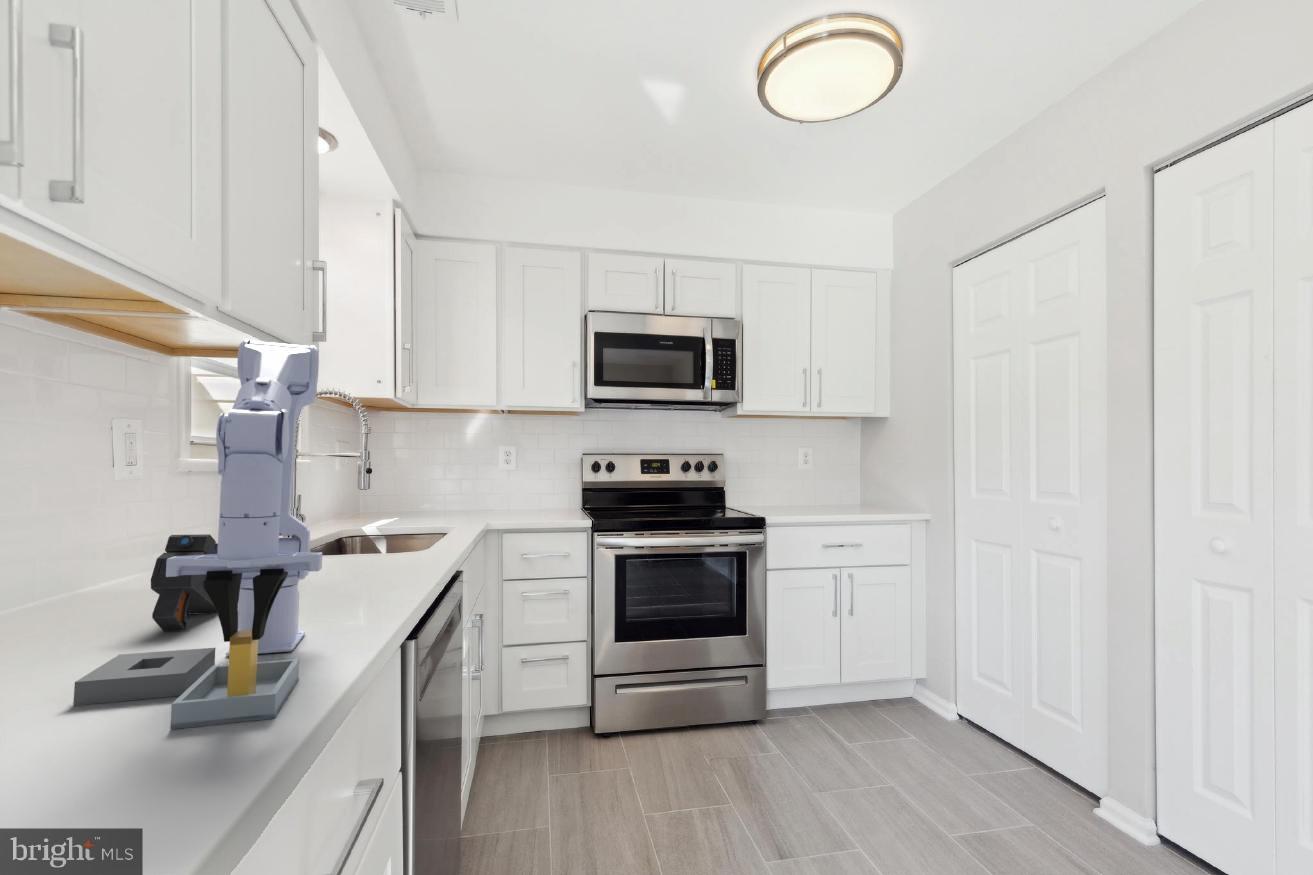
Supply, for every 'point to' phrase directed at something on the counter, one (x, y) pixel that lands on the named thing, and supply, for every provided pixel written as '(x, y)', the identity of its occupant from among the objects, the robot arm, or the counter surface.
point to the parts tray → (214, 707)
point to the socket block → (144, 676)
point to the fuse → (242, 664)
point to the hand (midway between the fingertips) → (244, 638)
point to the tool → (181, 583)
